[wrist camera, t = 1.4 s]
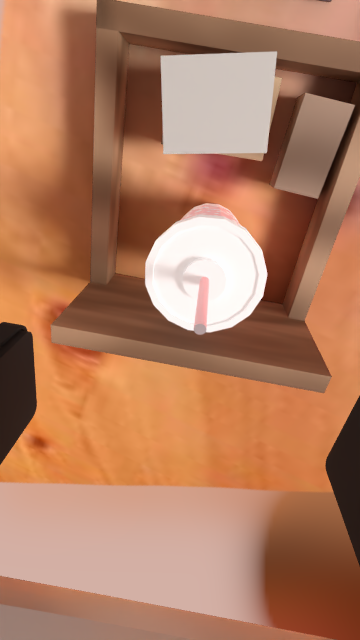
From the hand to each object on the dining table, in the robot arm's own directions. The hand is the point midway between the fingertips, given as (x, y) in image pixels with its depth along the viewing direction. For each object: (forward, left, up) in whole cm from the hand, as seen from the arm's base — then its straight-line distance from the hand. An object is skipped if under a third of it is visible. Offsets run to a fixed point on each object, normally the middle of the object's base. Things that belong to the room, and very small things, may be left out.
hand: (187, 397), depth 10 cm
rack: (-3, 0, -17) cm, 18 cm away
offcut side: (-7, +5, -18) cm, 19 cm away
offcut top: (-8, -1, -15) cm, 17 cm away
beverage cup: (0, 0, -17) cm, 17 cm away
